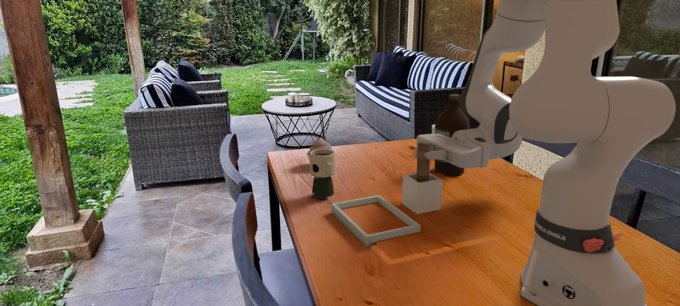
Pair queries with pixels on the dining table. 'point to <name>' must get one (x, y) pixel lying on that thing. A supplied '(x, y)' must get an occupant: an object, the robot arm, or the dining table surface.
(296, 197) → the dining table surface
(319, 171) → the character mug
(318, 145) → the cupcake
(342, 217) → the sage tray
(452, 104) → the olive oil
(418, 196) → the white square sleeve
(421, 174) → the walnut pin
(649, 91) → the robot arm
